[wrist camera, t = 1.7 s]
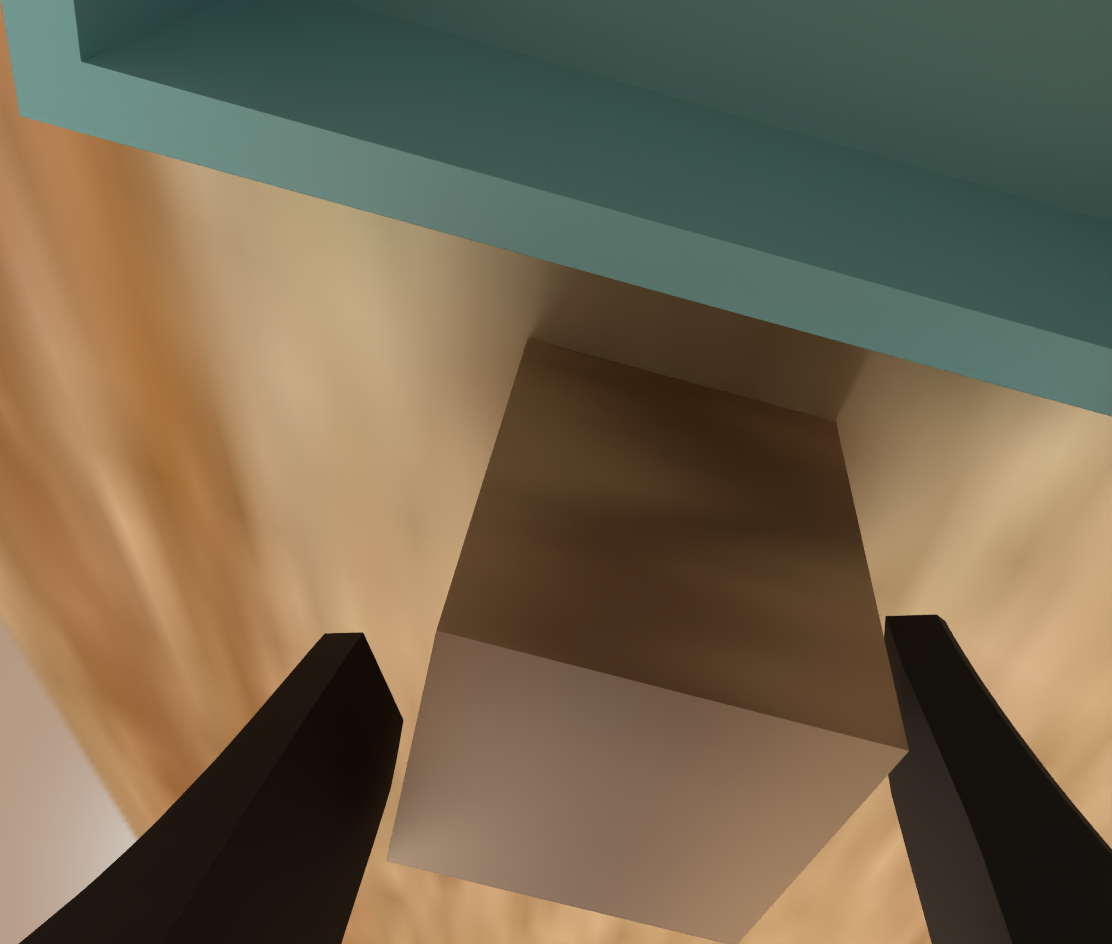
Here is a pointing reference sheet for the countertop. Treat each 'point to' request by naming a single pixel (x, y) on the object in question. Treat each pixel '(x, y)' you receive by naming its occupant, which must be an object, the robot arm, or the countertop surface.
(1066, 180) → the teal bin
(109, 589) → the countertop surface
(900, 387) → the countertop surface
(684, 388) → the walnut block
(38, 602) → the countertop surface
